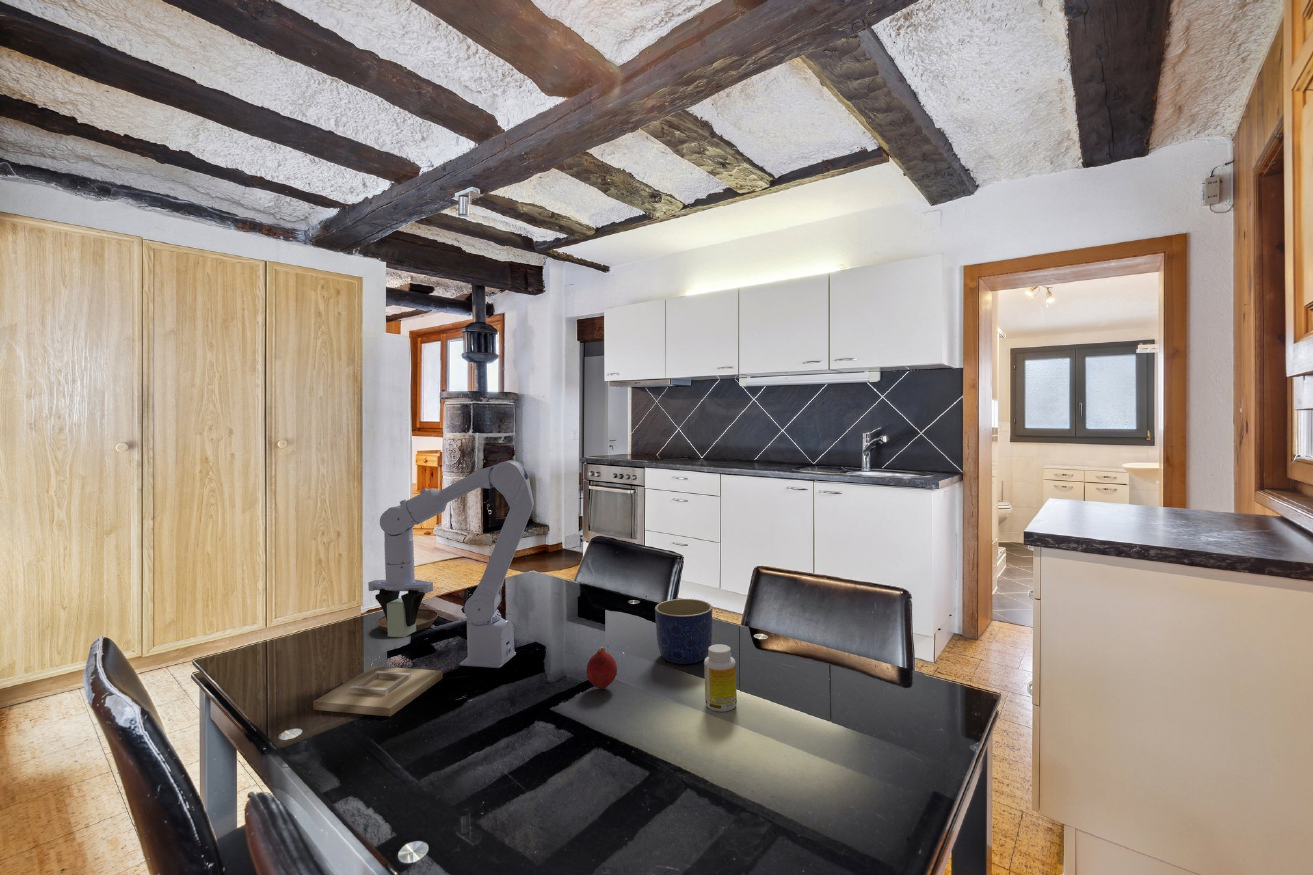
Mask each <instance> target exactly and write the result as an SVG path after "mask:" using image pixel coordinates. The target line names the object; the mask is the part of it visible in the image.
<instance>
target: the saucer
mask: <svg viewBox="0 0 1313 875" xmlns="http://www.w3.org/2000/svg"><path fill="white" fill-rule="evenodd" d="M438 616H439V612H438V611H436V610H434V609H429V608H419V610H418V613H417V617H416V631H415V632H414V633H416V632H420V631H422V630H425V629H428V628H429V627H430V626H431V625H432V624H434V622H435V621H436V620H437V618H438ZM376 620H377V621H376V624H377V626H378V627H379V628H380V629H381V630H382V631H384V632H385V633H388V626H387V620H386V617H385V615H383V616H381V617H379V618H378V619H376Z"/></svg>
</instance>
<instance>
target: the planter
mask: <svg viewBox="0 0 1313 875" xmlns="http://www.w3.org/2000/svg"><path fill="white" fill-rule="evenodd" d="M654 612H655V613H654V615H655V629H656V631H655V632H656V639H657V646H658V651H659V654H660V655H661V656H662V658H663V659H665V661H668V662H669V663H673V664H679V665H688V664H689V665H691V664H696V663H699V662H701V661H703V660H705V659H706V658H707V657H708V648H709V647H710V646H712V643H713V642H712V640H713V605H712V604H711V603H709V602H707V601H705V600H700V599H694V598H675V599H669V600H665V601H662V602H659V603H657V605H655V607H654Z"/></svg>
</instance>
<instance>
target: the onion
mask: <svg viewBox="0 0 1313 875" xmlns="http://www.w3.org/2000/svg"><path fill="white" fill-rule="evenodd" d="M617 674H618V666H617V662H616V660H615V659H614V657H613V656H612V655H611V654H610V653H608V652H606V648H605V647H603V646H600V647H599V648H598V649H597V652H596V653H594V654H593V655H592V656H591V658H590V659H589V661H588V662H587V665H586V677H587V679H588V681H589V683H590V684H592V685H593V687H595V688H598V689H599V690H601V691H602V690H605V689H607V687H608V686H609V685H611V684H612V683H613V682H614V680H615V678H616V677H617Z"/></svg>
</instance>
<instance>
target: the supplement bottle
mask: <svg viewBox="0 0 1313 875" xmlns="http://www.w3.org/2000/svg"><path fill="white" fill-rule="evenodd" d="M703 665H704V666H703V668H704V672H703V673H704V698H705V699H704V700H705V705H706V707H708V709H710V710H711V711H714V712H719V713H720V712H723V713H724V712H730V711H732V710H733V709H734V708H735V707H736V706H737V703H738V699H737V698H738V697H737V671H736V670H737V669H736V666H737V665H736V659H735V658H734V657H733V656H732V650H731V647H730V646H729V645H726V644H719V643H718V644H711V646H710V647H709V648H708V656H707V657H706V658H705V659H704V661H703Z"/></svg>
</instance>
